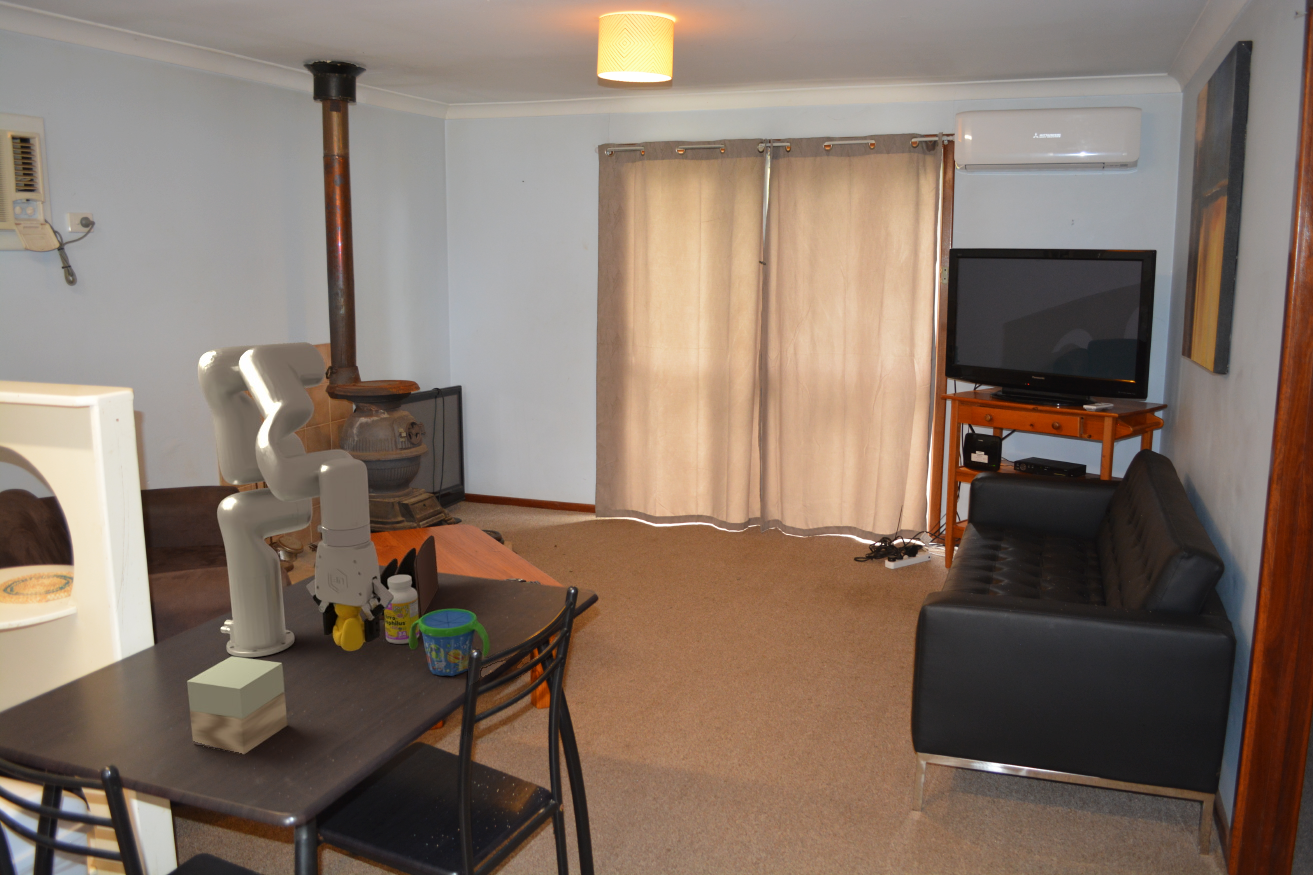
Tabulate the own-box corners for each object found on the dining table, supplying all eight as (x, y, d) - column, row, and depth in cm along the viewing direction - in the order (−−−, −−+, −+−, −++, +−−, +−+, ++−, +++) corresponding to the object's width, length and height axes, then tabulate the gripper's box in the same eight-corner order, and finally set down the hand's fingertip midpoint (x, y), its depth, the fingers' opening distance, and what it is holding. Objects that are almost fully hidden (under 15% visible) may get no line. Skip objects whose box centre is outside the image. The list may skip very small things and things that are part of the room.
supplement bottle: (378, 642, 195) (375, 581, 193) (399, 630, 201) (395, 571, 199) (406, 646, 193) (402, 585, 190) (426, 635, 199) (423, 575, 196)
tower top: (190, 710, 154) (186, 681, 153) (234, 684, 163) (231, 656, 162) (242, 718, 151) (239, 688, 150) (284, 691, 160) (282, 662, 159)
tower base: (193, 745, 155) (189, 710, 154) (238, 717, 164) (235, 684, 163) (244, 755, 152) (240, 719, 150) (287, 726, 161) (284, 692, 160)
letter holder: (439, 588, 227) (436, 530, 224) (422, 619, 207) (418, 556, 205) (396, 589, 227) (392, 531, 224) (375, 620, 207) (370, 557, 204)
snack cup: (500, 664, 184) (499, 613, 182) (471, 687, 174) (468, 633, 173) (431, 652, 190) (428, 603, 188) (398, 674, 180) (395, 622, 178)
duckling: (330, 634, 167) (327, 579, 165) (363, 630, 169) (360, 576, 167) (336, 661, 157) (333, 603, 155) (371, 656, 159) (368, 599, 157)
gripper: (287, 535, 158) (293, 636, 161) (378, 547, 152) (383, 652, 156) (317, 522, 165) (323, 620, 168) (405, 533, 159) (409, 634, 163)
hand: (351, 634), depth 162 cm, fingers closed on duckling, 7 cm apart
